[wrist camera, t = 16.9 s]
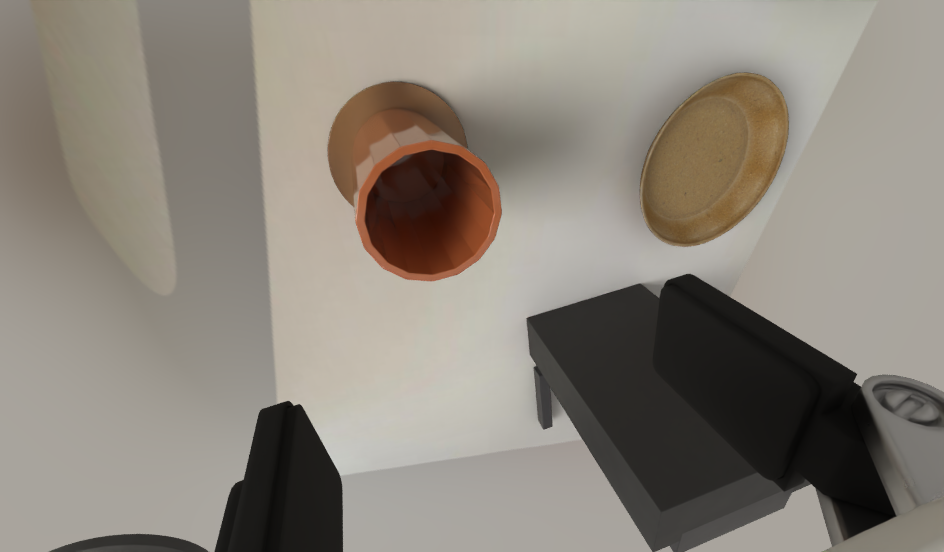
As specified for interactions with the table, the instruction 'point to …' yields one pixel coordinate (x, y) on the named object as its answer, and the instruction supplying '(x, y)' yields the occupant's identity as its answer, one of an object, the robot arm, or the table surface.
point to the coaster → (376, 102)
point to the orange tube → (421, 197)
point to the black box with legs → (643, 423)
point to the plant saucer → (714, 159)
